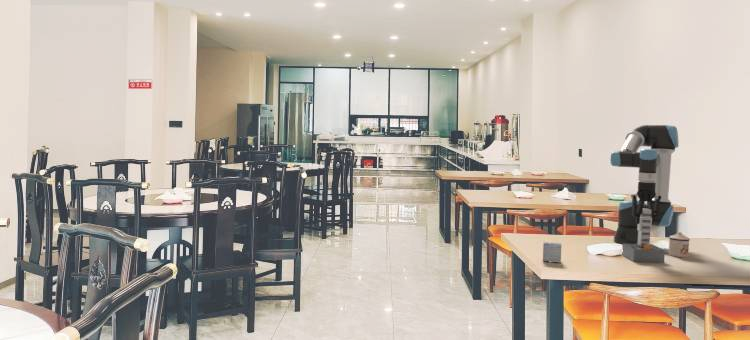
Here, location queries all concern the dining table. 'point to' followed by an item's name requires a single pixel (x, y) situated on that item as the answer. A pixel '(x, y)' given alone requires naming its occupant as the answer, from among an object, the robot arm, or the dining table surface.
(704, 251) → the dining table surface
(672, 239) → the teacup with lid
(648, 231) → the column
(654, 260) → the sleeve base
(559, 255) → the medicine box
